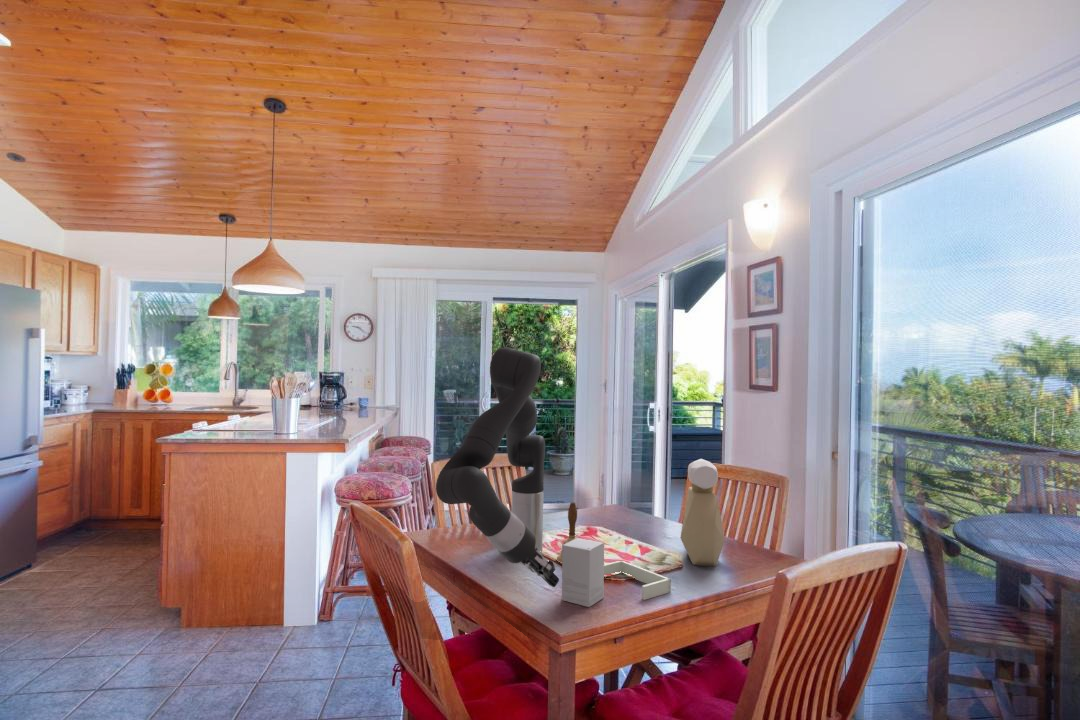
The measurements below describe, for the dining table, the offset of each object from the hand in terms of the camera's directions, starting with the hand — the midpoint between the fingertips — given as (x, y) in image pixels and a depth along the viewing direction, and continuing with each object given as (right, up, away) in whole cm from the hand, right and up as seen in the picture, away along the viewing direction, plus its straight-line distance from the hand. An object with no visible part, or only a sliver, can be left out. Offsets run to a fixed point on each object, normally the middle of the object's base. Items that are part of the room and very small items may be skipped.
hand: (554, 582), depth 128 cm
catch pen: (+19, -6, +14) cm, 24 cm away
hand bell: (+5, -6, +32) cm, 33 cm away
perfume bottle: (+42, -7, +35) cm, 55 cm away
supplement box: (+6, -6, +4) cm, 10 cm away
